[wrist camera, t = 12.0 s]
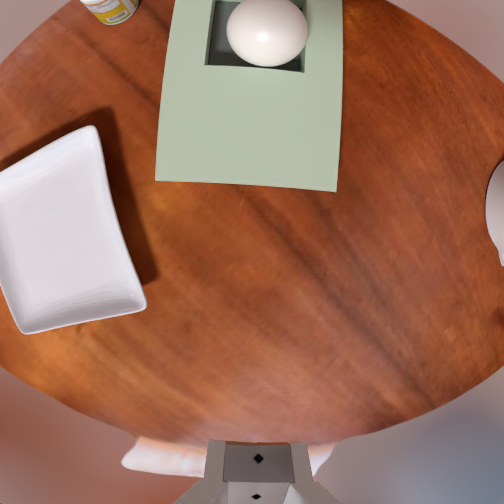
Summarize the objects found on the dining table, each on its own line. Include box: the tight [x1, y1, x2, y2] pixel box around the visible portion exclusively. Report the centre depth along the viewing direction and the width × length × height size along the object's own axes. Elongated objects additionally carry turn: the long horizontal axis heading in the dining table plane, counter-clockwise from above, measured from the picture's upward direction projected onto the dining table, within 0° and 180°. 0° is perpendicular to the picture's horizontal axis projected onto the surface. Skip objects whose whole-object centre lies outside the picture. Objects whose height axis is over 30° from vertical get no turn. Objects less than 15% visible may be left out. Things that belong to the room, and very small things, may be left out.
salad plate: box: [0, 125, 147, 334], centre depth 33 cm, size 21×21×3 cm
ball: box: [227, 0, 308, 67], centre depth 26 cm, size 8×8×8 cm
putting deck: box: [155, 0, 343, 192], centre depth 29 cm, size 18×24×3 cm
